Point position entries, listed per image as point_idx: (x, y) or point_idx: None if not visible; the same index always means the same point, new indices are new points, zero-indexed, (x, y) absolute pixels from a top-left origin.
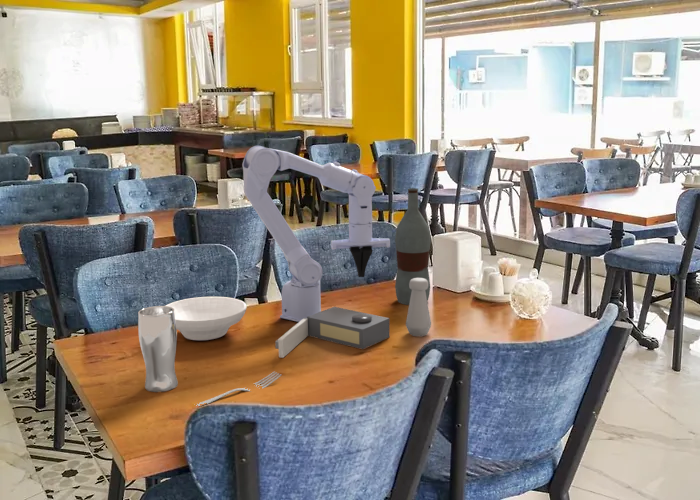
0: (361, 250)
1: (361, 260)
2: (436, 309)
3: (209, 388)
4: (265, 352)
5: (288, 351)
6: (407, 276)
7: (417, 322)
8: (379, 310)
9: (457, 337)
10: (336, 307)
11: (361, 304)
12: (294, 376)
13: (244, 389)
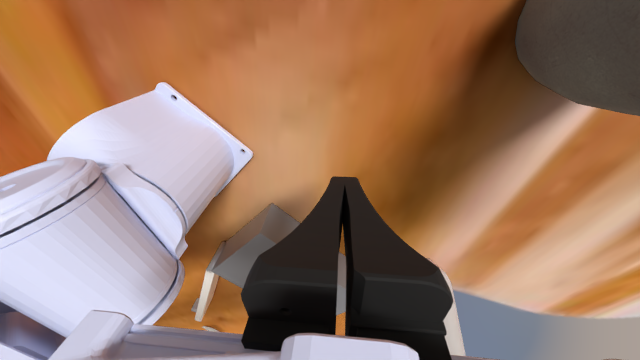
0: (348, 319)
1: (348, 246)
2: (578, 140)
3: (166, 325)
4: (184, 278)
5: (214, 290)
6: (631, 105)
7: None
8: (402, 118)
9: (474, 289)
10: (265, 238)
11: (363, 31)
12: (237, 324)
13: None
